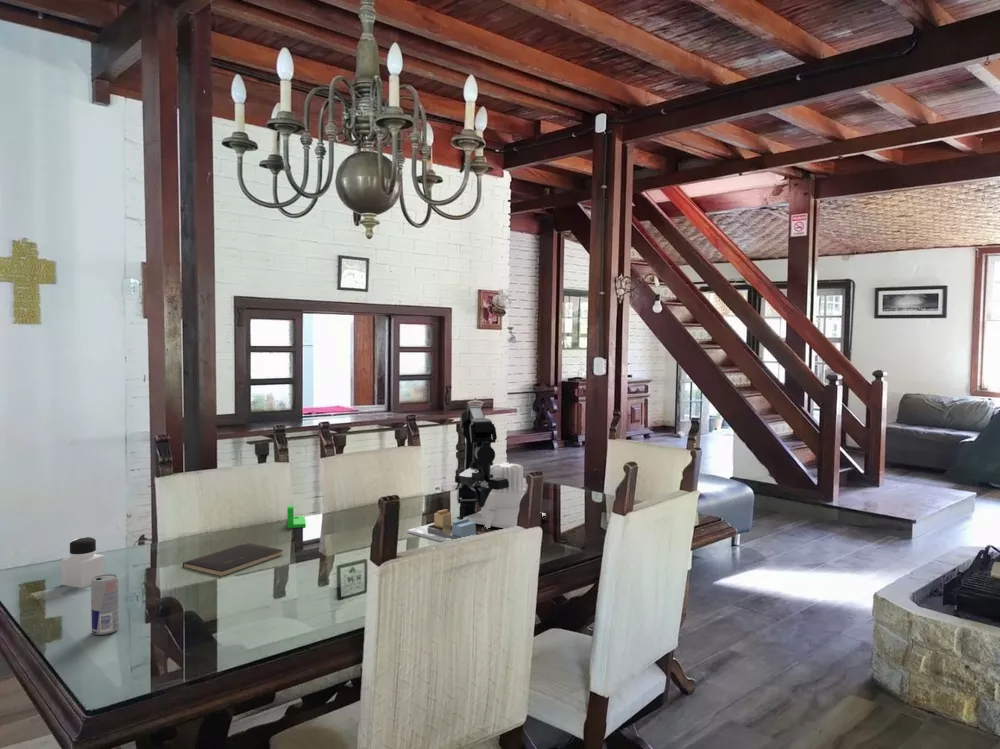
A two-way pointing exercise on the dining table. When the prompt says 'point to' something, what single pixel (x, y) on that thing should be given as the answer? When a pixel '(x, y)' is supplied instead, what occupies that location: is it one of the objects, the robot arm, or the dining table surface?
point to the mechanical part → (294, 519)
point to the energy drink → (104, 604)
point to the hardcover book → (232, 559)
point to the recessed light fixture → (502, 498)
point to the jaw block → (442, 520)
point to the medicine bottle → (82, 563)
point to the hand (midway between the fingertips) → (481, 507)
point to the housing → (463, 528)
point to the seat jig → (433, 533)
